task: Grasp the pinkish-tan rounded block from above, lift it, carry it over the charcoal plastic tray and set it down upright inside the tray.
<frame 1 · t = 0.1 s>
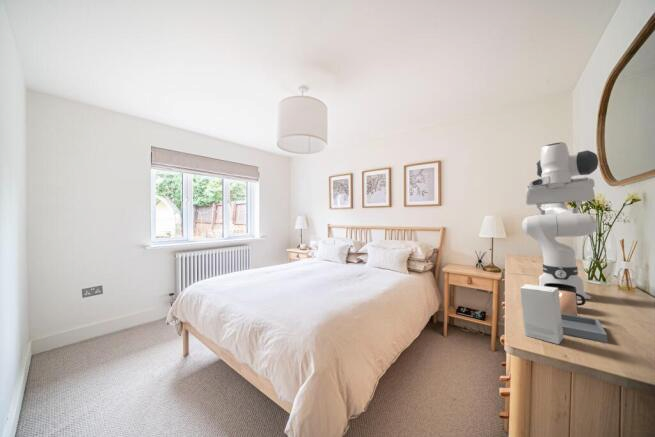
hand: (558, 213, 96), 39 cm above the dresser, tool pointing down, fingers open, 8 cm apart
mug: (565, 309, 96), on the dresser
pinkish-tan rounded block: (567, 316, 88), on the dresser
tray: (570, 328, 79), on the dresser
skincare box: (543, 337, 74), on the dresser
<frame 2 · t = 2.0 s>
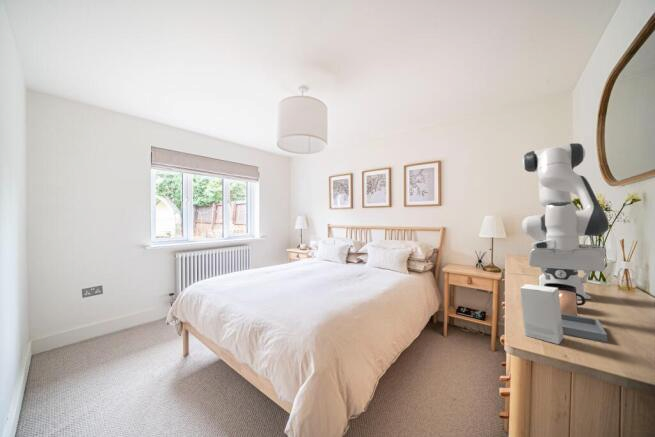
hand: (565, 281, 88), 13 cm above the dresser, tool pointing down, fingers open, 8 cm apart
nothing on the dresser moved.
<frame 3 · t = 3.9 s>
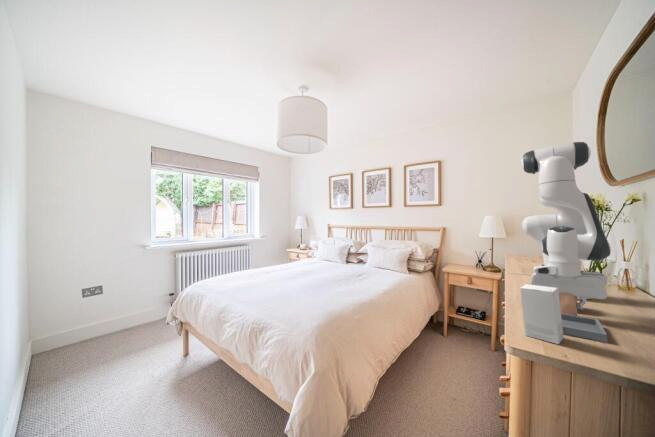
hand: (566, 306, 88), 4 cm above the dresser, tool pointing down, fingers closed on pinkish-tan rounded block, 5 cm apart
pinkish-tan rounded block: (567, 316, 88), on the dresser, touching gripper
everything else where it was.
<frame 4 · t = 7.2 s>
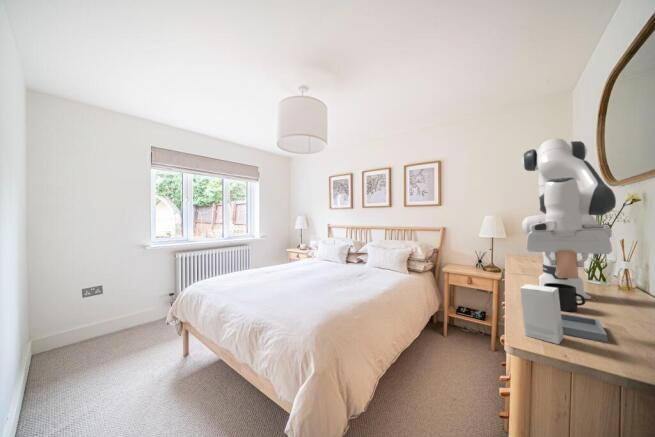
hand: (566, 266, 79), 21 cm above the dresser, tool pointing down, fingers closed on pinkish-tan rounded block, 5 cm apart
pinkish-tan rounded block: (567, 276, 79), point 17 cm above the dresser, touching gripper
everything else where it was.
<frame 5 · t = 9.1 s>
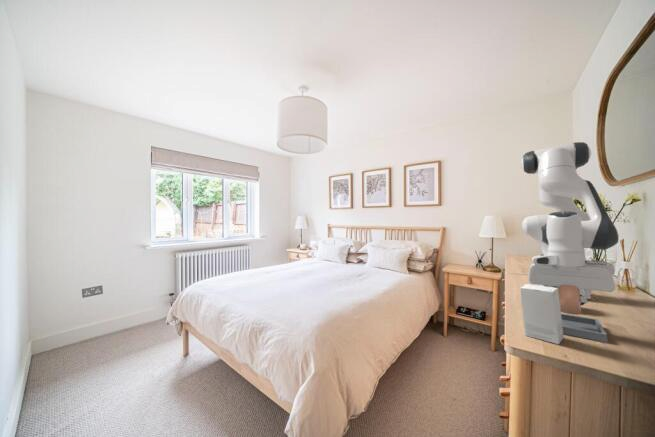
hand: (569, 300, 79), 9 cm above the dresser, tool pointing down, fingers closed on pinkish-tan rounded block, 5 cm apart
pinkish-tan rounded block: (569, 311, 79), point 6 cm above the dresser, touching gripper
everything else where it was.
when the fingers open (6 cm above the dresser, at t = 10.7 s): pinkish-tan rounded block drops 1 cm, resting on tray.
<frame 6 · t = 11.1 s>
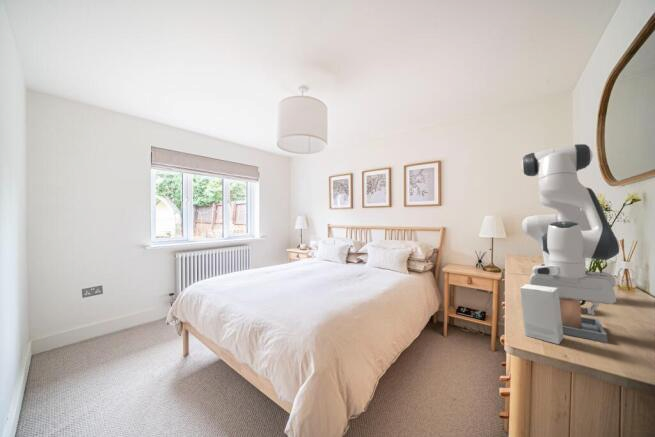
hand: (569, 311, 79), 6 cm above the dresser, tool pointing down, fingers open, 8 cm apart
pinkish-tan rounded block: (570, 326, 79), point 1 cm above the dresser, touching tray
everything else where it was.
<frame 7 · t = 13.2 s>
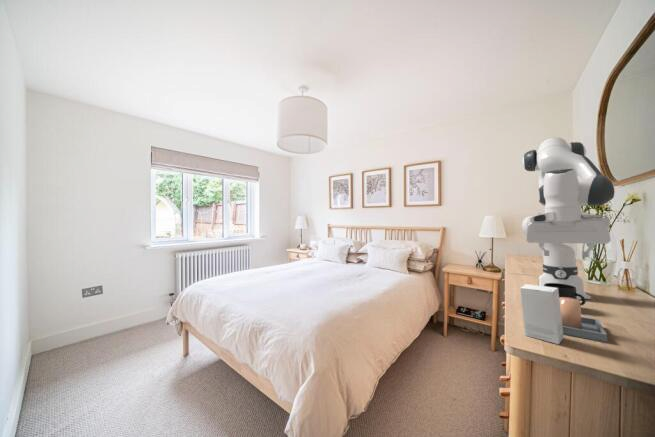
hand: (565, 256, 80), 24 cm above the dresser, tool pointing down, fingers open, 8 cm apart
nothing on the dresser moved.
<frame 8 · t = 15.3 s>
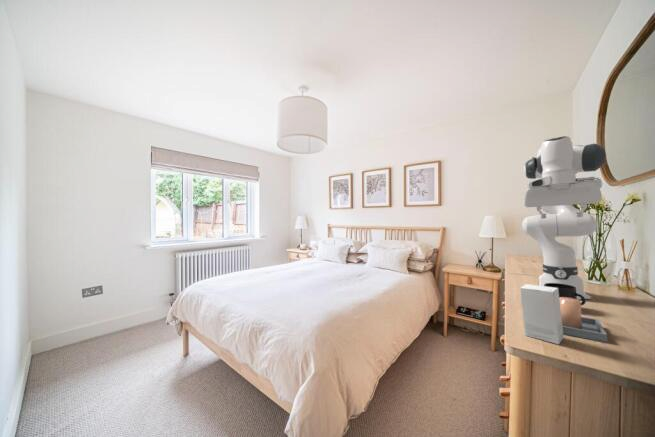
hand: (561, 217, 86), 37 cm above the dresser, tool pointing down, fingers open, 8 cm apart
nothing on the dresser moved.
at the end: pinkish-tan rounded block inside the target area on the tray (0.0 cm from its centre), point 0.6 cm above the tray's base; pinkish-tan rounded block tilted 1°; the gripper is holding nothing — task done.
